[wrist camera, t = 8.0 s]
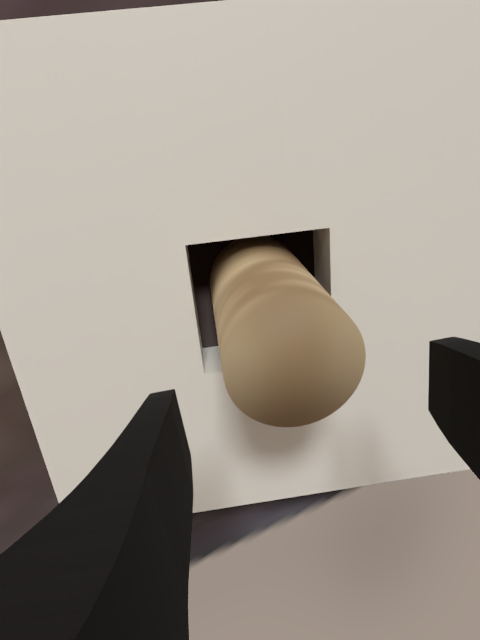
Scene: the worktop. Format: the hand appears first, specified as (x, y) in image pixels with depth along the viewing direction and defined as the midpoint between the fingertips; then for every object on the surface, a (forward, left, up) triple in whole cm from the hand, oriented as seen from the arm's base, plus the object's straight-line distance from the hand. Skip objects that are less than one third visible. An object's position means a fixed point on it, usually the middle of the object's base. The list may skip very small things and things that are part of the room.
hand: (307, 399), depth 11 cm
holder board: (0, 0, -9) cm, 9 cm away
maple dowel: (0, 0, -9) cm, 9 cm away
